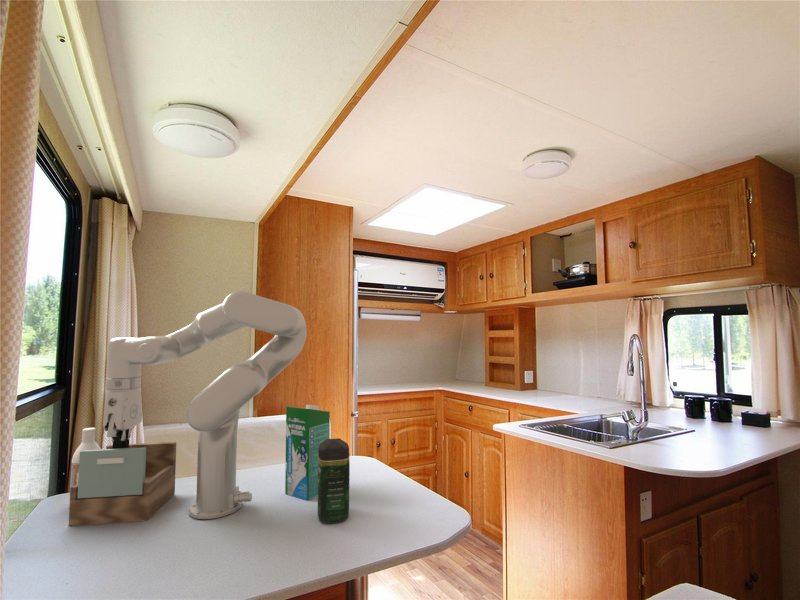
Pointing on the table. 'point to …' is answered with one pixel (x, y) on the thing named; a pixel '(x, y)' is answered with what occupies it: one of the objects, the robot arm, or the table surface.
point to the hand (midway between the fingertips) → (120, 455)
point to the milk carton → (304, 449)
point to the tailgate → (111, 472)
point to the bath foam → (86, 444)
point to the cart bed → (131, 506)
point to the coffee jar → (333, 481)
